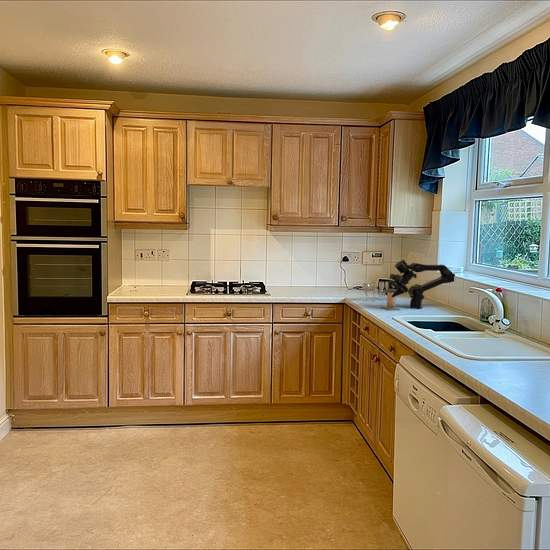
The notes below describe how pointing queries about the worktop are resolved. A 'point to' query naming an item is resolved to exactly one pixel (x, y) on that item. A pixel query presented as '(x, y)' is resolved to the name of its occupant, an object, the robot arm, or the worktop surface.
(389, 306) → the spice jar
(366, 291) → the goblet set
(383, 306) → the slate board
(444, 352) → the worktop surface
